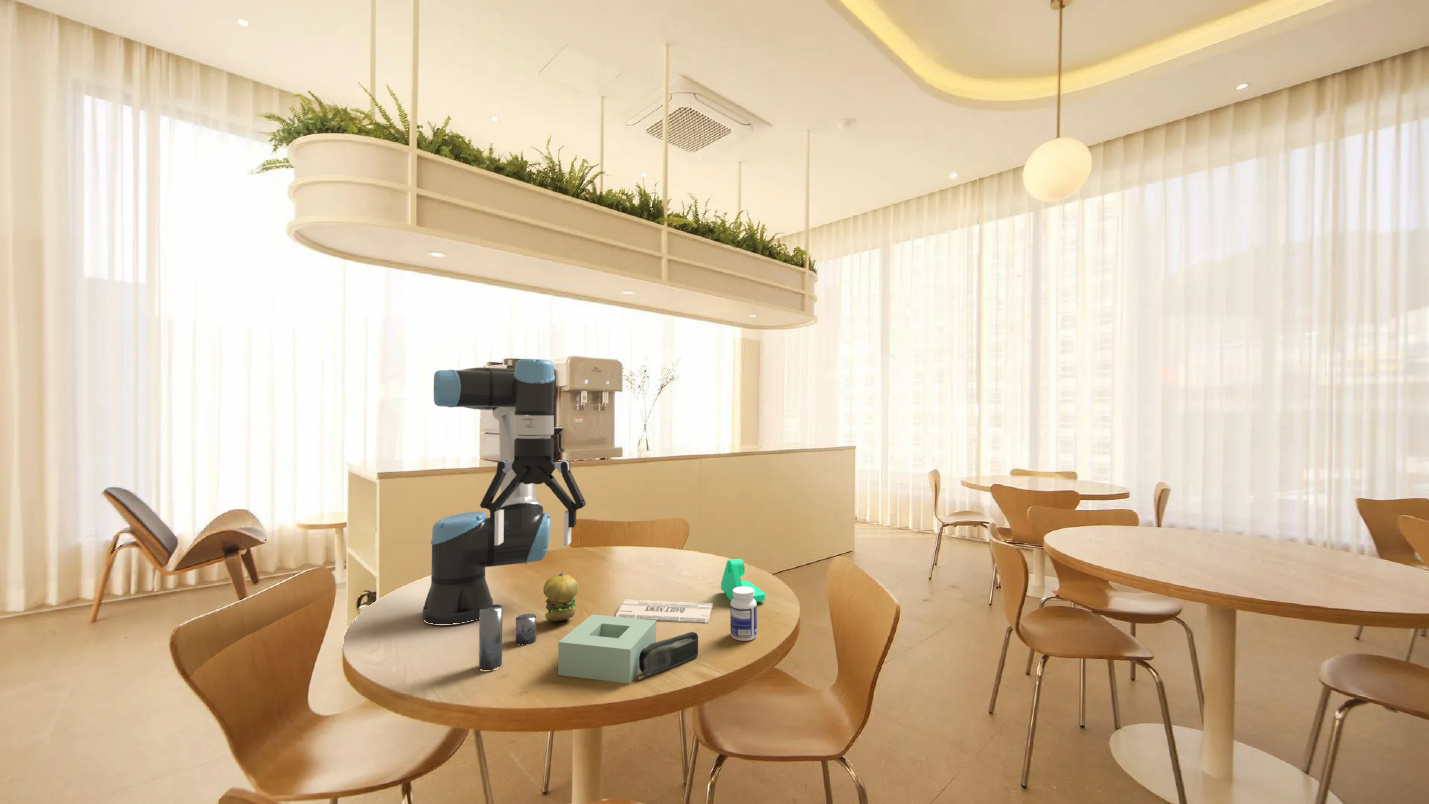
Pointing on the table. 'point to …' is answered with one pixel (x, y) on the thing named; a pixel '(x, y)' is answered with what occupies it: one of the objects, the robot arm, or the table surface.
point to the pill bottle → (743, 614)
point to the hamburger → (560, 597)
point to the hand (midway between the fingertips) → (533, 544)
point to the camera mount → (738, 580)
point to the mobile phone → (668, 654)
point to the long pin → (490, 637)
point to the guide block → (605, 648)
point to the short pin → (526, 629)
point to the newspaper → (666, 611)
